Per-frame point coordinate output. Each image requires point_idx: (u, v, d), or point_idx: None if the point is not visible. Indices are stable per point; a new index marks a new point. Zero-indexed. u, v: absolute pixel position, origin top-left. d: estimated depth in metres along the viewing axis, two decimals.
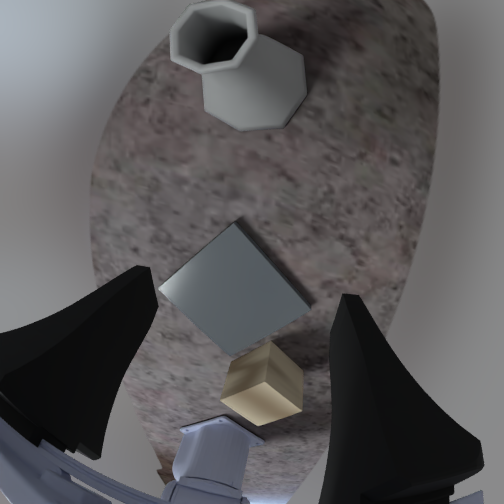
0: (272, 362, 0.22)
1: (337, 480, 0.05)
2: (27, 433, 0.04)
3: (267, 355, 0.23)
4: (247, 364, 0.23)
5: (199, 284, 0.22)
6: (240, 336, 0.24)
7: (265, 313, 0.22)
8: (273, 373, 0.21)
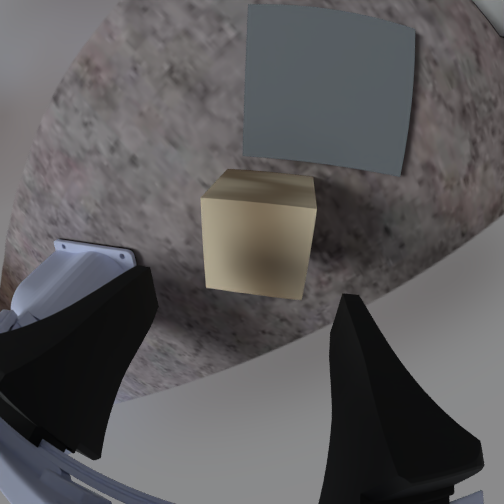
0: None
1: (337, 480, 0.05)
2: (27, 433, 0.04)
3: (311, 185, 0.14)
4: (267, 180, 0.14)
5: (312, 37, 0.11)
6: (290, 136, 0.14)
7: (354, 133, 0.13)
8: None
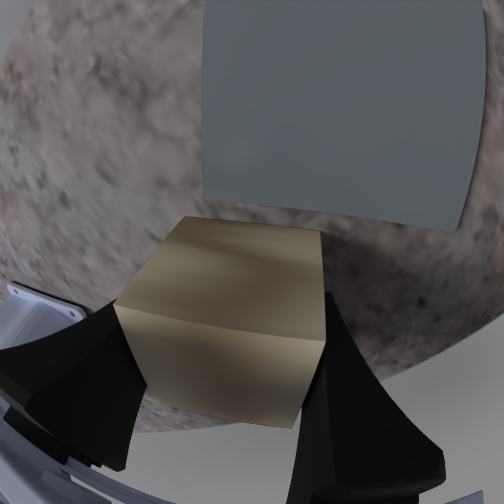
0: None
1: (299, 479, 0.05)
2: (27, 433, 0.04)
3: (317, 259, 0.08)
4: (241, 247, 0.09)
5: None
6: (283, 168, 0.08)
7: (393, 163, 0.07)
8: None
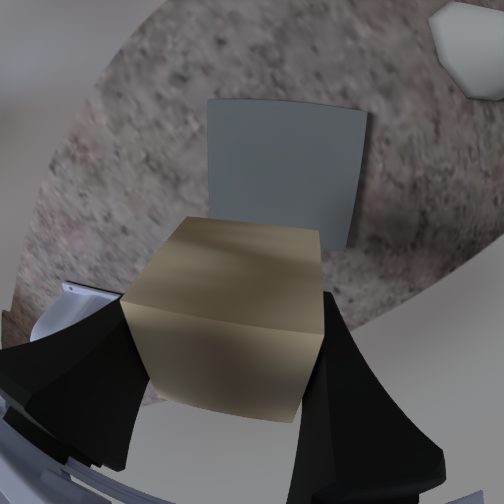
0: None
1: (299, 479, 0.05)
2: (27, 433, 0.04)
3: (316, 257, 0.09)
4: (243, 246, 0.09)
5: (265, 133, 0.15)
6: None
7: (302, 219, 0.17)
8: None
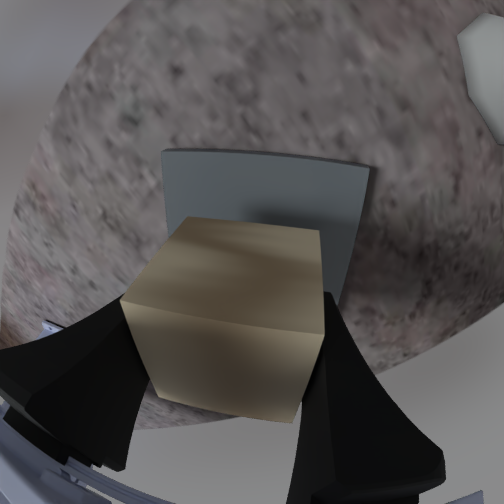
0: None
1: (299, 479, 0.05)
2: (27, 433, 0.04)
3: (316, 257, 0.08)
4: (243, 246, 0.09)
5: (234, 196, 0.12)
6: None
7: None
8: None
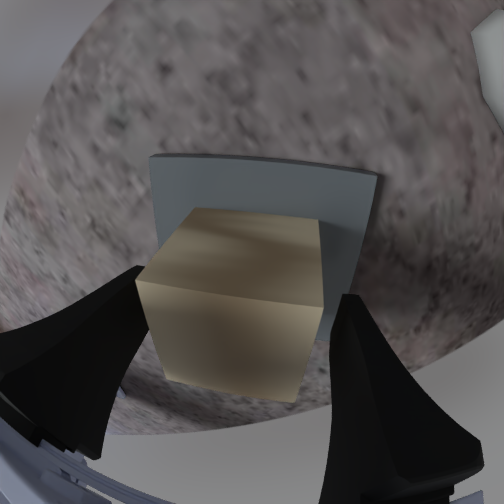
0: None
1: (337, 480, 0.05)
2: (27, 433, 0.04)
3: (315, 242, 0.09)
4: (248, 233, 0.10)
5: (227, 206, 0.11)
6: None
7: None
8: None
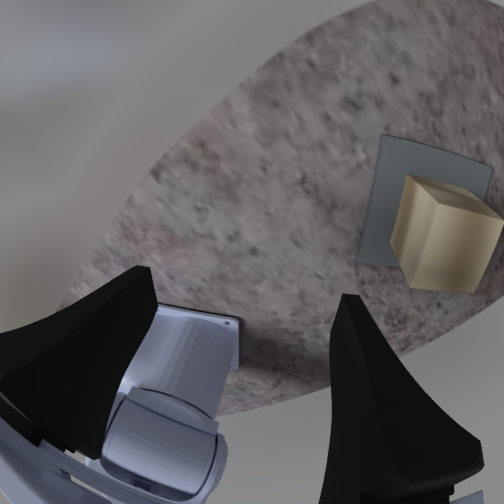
0: None
1: (337, 480, 0.05)
2: (27, 433, 0.04)
3: (477, 198, 0.13)
4: (450, 190, 0.13)
5: (425, 175, 0.15)
6: None
7: None
8: None
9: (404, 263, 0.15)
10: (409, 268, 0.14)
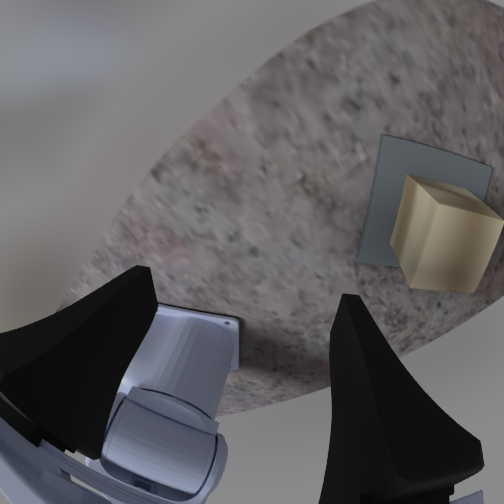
0: None
1: (337, 480, 0.05)
2: (27, 433, 0.04)
3: (477, 198, 0.13)
4: (450, 190, 0.13)
5: (425, 175, 0.15)
6: None
7: None
8: None
9: (404, 263, 0.15)
10: (409, 268, 0.14)
